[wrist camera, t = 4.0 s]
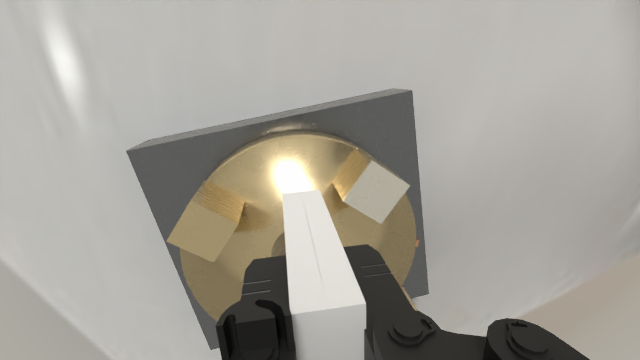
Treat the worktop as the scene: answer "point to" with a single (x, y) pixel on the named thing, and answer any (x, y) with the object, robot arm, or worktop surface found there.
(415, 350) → the robot arm
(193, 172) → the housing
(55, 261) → the worktop surface
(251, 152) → the ring nut
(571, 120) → the worktop surface
